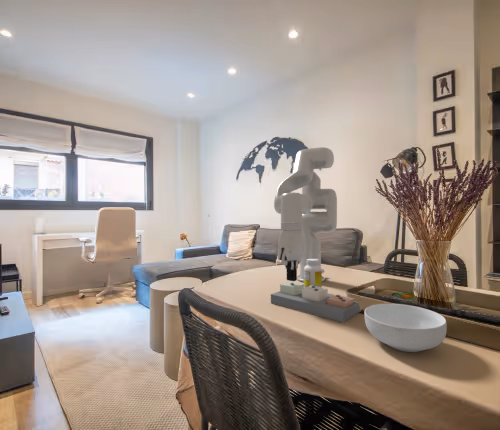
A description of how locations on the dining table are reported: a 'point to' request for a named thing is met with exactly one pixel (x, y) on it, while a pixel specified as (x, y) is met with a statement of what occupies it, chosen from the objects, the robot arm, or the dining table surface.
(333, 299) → the pink block
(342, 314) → the grey flat board
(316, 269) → the supplement bottle
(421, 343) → the cereal bowl
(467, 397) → the dining table surface
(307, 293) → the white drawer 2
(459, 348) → the dining table surface
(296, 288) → the knob block
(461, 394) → the dining table surface
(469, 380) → the dining table surface
